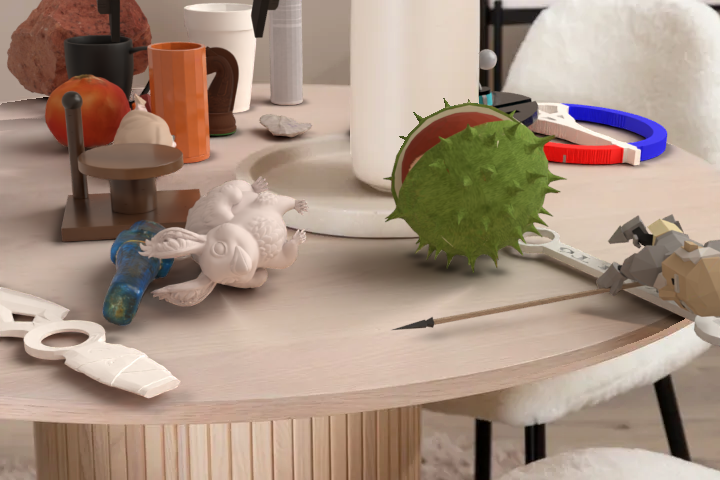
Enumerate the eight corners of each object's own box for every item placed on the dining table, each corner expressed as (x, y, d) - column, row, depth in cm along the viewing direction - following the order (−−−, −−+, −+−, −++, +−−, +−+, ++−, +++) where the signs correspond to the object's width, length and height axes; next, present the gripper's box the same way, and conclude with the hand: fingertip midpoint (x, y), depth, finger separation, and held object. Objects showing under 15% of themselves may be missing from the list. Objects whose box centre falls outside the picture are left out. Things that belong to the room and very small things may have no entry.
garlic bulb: (187, 169, 112) (183, 94, 109) (164, 186, 106) (159, 106, 103) (127, 165, 113) (122, 90, 110) (101, 182, 107) (95, 103, 104)
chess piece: (200, 126, 129) (196, 43, 126) (242, 126, 130) (239, 44, 126) (195, 135, 125) (191, 49, 122) (239, 135, 125) (236, 50, 122)
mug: (153, 125, 130) (148, 47, 127) (59, 121, 131) (52, 43, 128) (174, 111, 138) (170, 37, 134) (85, 107, 139) (79, 33, 136)
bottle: (302, 98, 147) (300, -53, 140) (303, 105, 143) (301, -50, 136) (270, 98, 146) (266, -53, 139) (271, 105, 142) (267, -51, 135)
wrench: (783, 325, 73) (736, 347, 71) (782, 333, 74) (735, 355, 71) (540, 222, 92) (497, 236, 90) (540, 229, 93) (497, 243, 90)
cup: (153, 150, 119) (146, 42, 115) (208, 148, 120) (203, 41, 116) (154, 164, 113) (147, 51, 109) (211, 162, 115) (206, 50, 111)
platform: (335, 121, 135) (328, 70, 132) (495, 89, 140) (491, 40, 138) (387, 162, 115) (379, 103, 113) (571, 123, 121) (567, 67, 118)
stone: (284, 142, 123) (285, 125, 122) (243, 129, 128) (244, 112, 127) (319, 139, 127) (320, 122, 126) (278, 126, 132) (279, 110, 131)
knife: (120, 412, 61) (118, 399, 61) (-95, 293, 79) (-96, 283, 79) (204, 378, 65) (203, 366, 65) (-18, 273, 83) (-19, 263, 83)
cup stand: (69, 207, 99) (57, 89, 95) (200, 200, 102) (194, 86, 98) (62, 242, 90) (49, 113, 86) (206, 234, 92) (200, 108, 89)
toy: (395, 291, 86) (393, 363, 72) (387, 228, 85) (383, 288, 70) (754, 253, 85) (824, 318, 71) (753, 188, 83) (824, 240, 69)
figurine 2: (345, 268, 78) (203, 339, 71) (238, 261, 90) (106, 321, 83) (314, 164, 76) (164, 225, 69) (209, 170, 88) (70, 224, 80)
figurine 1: (149, 337, 73) (172, 268, 87) (164, 287, 72) (185, 226, 86) (81, 318, 72) (115, 251, 87) (94, 267, 71) (127, 208, 86)
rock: (105, 108, 159) (25, 141, 148) (49, 21, 157) (-35, 48, 146) (178, 44, 145) (96, 75, 134) (118, -52, 143) (30, -29, 132)
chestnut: (503, 66, 91) (531, 46, 76) (576, 215, 92) (617, 223, 78) (346, 146, 91) (343, 142, 76) (421, 294, 93) (433, 317, 78)
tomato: (51, 158, 114) (44, 84, 111) (44, 139, 122) (37, 69, 119) (139, 152, 117) (134, 79, 115) (127, 133, 125) (122, 65, 123)
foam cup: (190, 117, 135) (185, 12, 130) (187, 102, 143) (181, 3, 139) (265, 114, 137) (262, 11, 133) (257, 99, 146) (254, 2, 141)
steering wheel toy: (583, 109, 142) (584, 97, 142) (713, 155, 122) (715, 141, 121) (441, 123, 133) (441, 110, 132) (555, 175, 112) (556, 160, 112)
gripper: (39, -103, 79) (55, 65, 98) (362, -100, 87) (319, 56, 105) (32, -178, 82) (48, -1, 101) (345, -169, 89) (306, -6, 108)
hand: (186, 28), depth 103 cm, fingers open, 13 cm apart
